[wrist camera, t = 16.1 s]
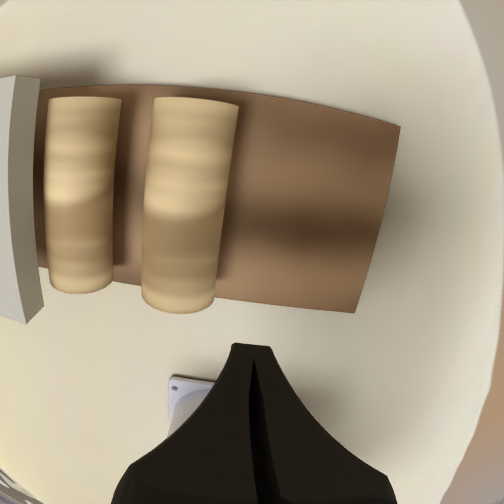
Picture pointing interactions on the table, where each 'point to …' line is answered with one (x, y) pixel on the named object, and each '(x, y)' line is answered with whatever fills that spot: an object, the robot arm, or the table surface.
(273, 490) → the robot arm
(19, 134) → the slab
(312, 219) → the roller board
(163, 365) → the table surface
